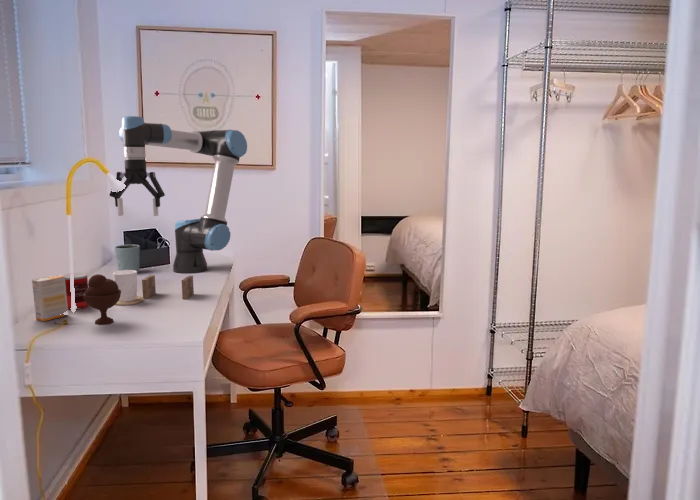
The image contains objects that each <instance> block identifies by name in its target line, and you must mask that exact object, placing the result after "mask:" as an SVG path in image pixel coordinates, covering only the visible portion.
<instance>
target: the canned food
mask: <svg viewBox="0 0 700 500" xmlns="http://www.w3.org/2000/svg"><path fill="white" fill-rule="evenodd" d="M70 274H71V273H67V274H64V275H62V276H64V277H65V285H66V295H67V306H68V310H71V309H70V308H71V292H70ZM88 281H89V279H88V275H87V273H81V272H76V273H75V272H74V288H75V303H76V306H77V308H81V310H82V309H86V308H88V307H90V306H89V305H88V304H86V302H85V301H84V298H83V293H85V291H86V289H87V288H88V287H89V286H88Z"/></svg>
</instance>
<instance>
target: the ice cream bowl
mask: <svg viewBox="0 0 700 500" xmlns="http://www.w3.org/2000/svg"><path fill="white" fill-rule="evenodd" d="M120 295H121V290H119V289H118V285H117V283H116V282H115V281H114V279H110V278H107V277H106V276H105V275H103V274H97V273H96V274H93V275H92V276H91V277H90V278H89V279H88V288H87V289H86V291H85V293H83V298H84V301H85V302H86V304H88V305H89V306H88V307H90V308H92V309H95V310H97V311H99V312H100V317H98V318H97V319H96V320H95V321H94V324H95V325H99V326H100V325H101V326H102V325H103V326H104V325H110V324H112V323H114V319H113V318H112V317H109V316H108V313H107V311H108V309H110V308H112V307H114V306H116V305H115V304H116V303H117V302H118V301H119V299H120Z"/></svg>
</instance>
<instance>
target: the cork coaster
mask: <svg viewBox="0 0 700 500" xmlns="http://www.w3.org/2000/svg"><path fill="white" fill-rule="evenodd" d="M144 301H145V299H144V298H143V296H140V295H137V299H136V300H134V301H128V302H119V301H118V302H117V303H116V304H115V305H114V306H132V305H137V304H140V303H142V302H144Z"/></svg>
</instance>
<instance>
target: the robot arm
mask: <svg viewBox="0 0 700 500" xmlns="http://www.w3.org/2000/svg"><path fill="white" fill-rule="evenodd" d="M118 132H119V133H118V135H119V139H120V140H121V141H122V145H123V158H124V161H123V162H124V172H122V171H117V172H116V178H115V180H116V179H117V180H119V181H121V182H122V180H123V179H124V178H125V180H124V182H123V184H125V185H126V187H125V189H123V190H122V191H119V192H118V191H117V192H112V191H111V190H110V193H109V197H112V198H114V205H115V207H117V215H118V217H122V216H124V202H123V201H124V200H123V198H122V195H123V194H124V193H125V192H126V190H127V189H128V188H129V187H130V186H131V185H135V184H136V185H143V186H144V187H145V188H146V189H147V191H148V192H149V193H150V194H151V196H152V197H154V198H152V209H153V217H157V216H159V208H160V207H161V198H163V197H165V196H166V194H165V192H164V190H163V188H162V187H161V185H160V183H159V181H158V179H157V177H156V172H155V171H150V172H147V160H146V159H145V158H146V157H147V154H146V146H151V147H152V146H154V147H161V148H169V149H170V148H171V149H179V150H185V151H186V150H187V151H190V152H191V153H194V154H200V155H205V156H210V157H212V158H213V160H214V166H213V171H212V177H211V182H210V185H209V186H210V187H209V191H208V196H207V202H206V206H205V211H204V214H203V215H202V216H200V218H192V219H185V220H184V219H183V220H178V221H176V222H175V225H174V236H175V257H174V261H173V264H172V271H173V272H175V273H178V274H179V273H180V274H193V273H200V272H205V271H208V269H209V268H208V267H209V266H208V262H207V260H206V257H205V254H204V250H208V251H221V250H223V249H224V248H225V247H227V246H228V244H229V242H230V239H231V230H230V228H229V226H228V221H227V219H226V212H227V209H228V208H227V207H228V203H229V197H230V191H231V186H232V181H233V177H234V171H235V166H237V165H238V164H239V163H240V158H241V157H244V155H246V153H247V152H248V142H247V141H248V140H247V139H246V138H245V137H246V136H245V135H244V134H243V133H242V132H241V131H240V130H237V129H222V130H221V129H218V130H216V129H215V130H205V131H203V130H202V131H198V130H193V131H183V130H174V129H171V127H170V125H167V124H163V123H155V122H154V123H151V122H147V123H146V122H145V121H144V117H142V116H136V115H135V116H133V115H129V116H128V115H127V116H124V117H122V119H121V127H120V129H119V131H118ZM147 177H148V178H149V179H150V181H151V183H152V185H153V186H152V185H151V184H150V182H149V181H148V179H147Z"/></svg>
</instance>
